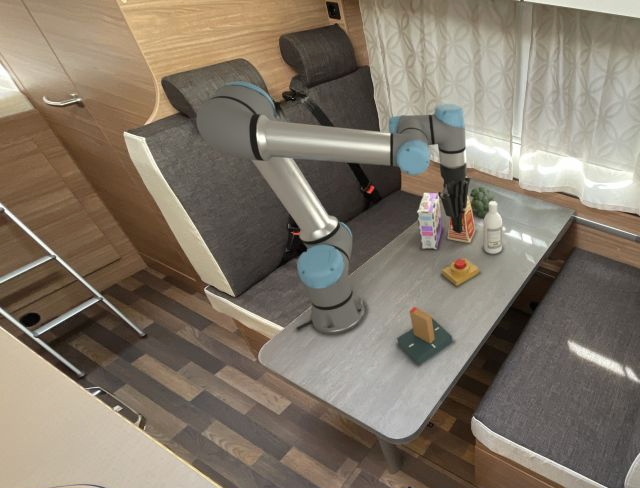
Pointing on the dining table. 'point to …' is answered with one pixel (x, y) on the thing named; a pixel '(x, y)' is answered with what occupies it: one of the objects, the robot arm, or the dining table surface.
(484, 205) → the vegetable
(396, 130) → the robot arm
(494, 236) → the bath foam
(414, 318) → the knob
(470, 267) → the button box
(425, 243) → the candy box
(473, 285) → the dining table surface
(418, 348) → the panel
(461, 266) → the button
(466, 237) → the milk carton
